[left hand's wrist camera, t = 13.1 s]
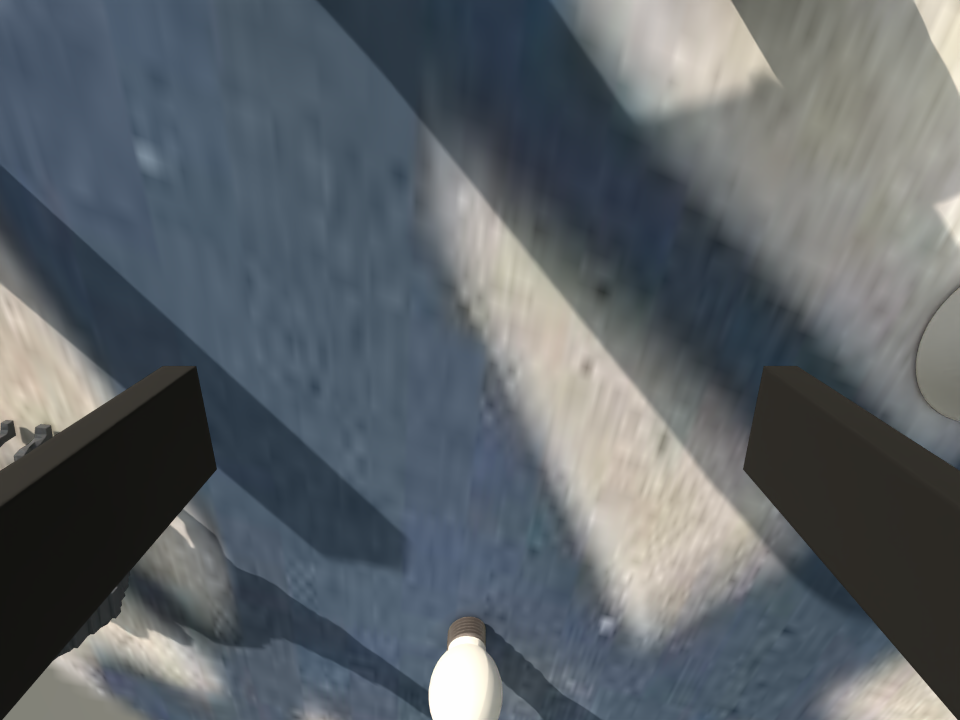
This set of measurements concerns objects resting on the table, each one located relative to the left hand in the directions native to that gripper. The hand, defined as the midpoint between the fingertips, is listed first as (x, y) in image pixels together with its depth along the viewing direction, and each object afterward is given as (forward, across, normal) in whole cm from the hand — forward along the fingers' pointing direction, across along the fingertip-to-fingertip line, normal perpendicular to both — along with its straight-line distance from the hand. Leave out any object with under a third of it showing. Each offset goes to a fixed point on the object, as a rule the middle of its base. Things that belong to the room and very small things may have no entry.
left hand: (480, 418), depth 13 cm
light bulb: (+30, -1, -40) cm, 50 cm away
